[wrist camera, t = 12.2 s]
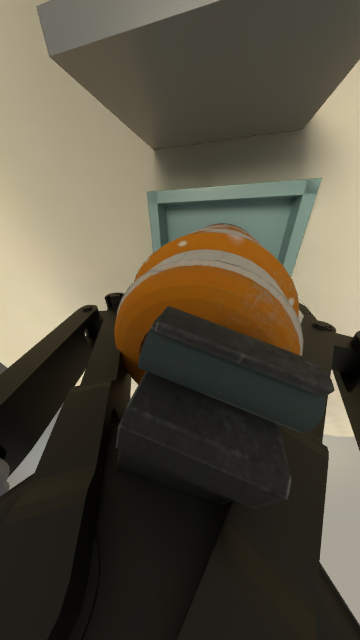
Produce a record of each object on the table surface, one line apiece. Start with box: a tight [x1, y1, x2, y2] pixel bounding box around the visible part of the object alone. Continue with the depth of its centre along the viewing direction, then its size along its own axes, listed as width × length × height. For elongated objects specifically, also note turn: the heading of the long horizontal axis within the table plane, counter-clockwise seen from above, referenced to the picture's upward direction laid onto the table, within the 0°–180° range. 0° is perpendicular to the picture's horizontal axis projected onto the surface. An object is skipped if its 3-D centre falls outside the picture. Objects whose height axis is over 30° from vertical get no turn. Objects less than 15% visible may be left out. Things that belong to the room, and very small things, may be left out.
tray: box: [147, 178, 322, 277], centre depth 21 cm, size 17×15×3 cm
